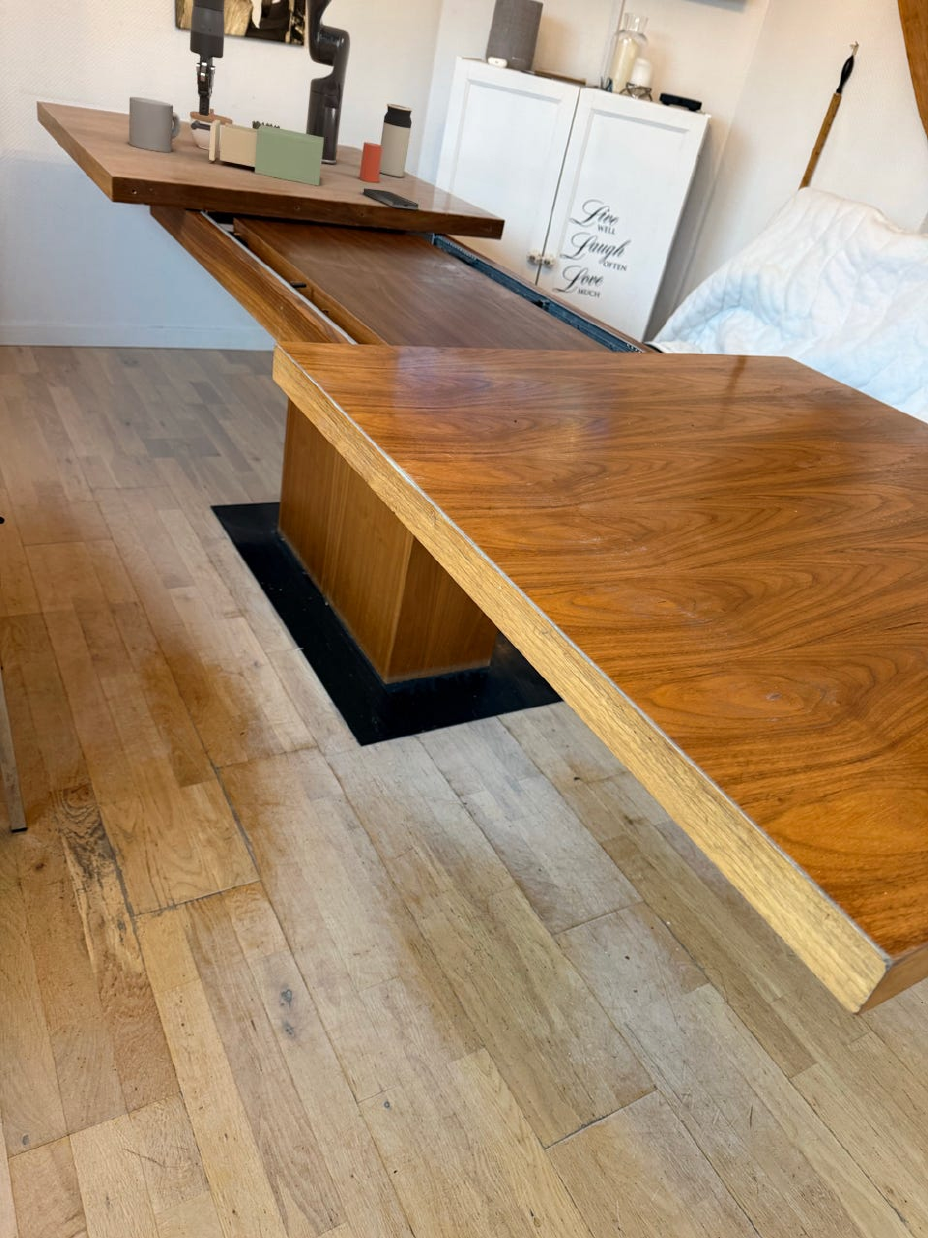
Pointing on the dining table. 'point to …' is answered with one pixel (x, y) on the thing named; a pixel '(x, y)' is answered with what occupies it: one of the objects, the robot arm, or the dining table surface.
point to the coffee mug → (152, 124)
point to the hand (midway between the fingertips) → (204, 114)
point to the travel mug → (395, 140)
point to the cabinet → (288, 155)
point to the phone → (390, 199)
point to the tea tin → (371, 162)
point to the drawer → (231, 142)
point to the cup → (257, 124)
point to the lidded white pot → (203, 135)
